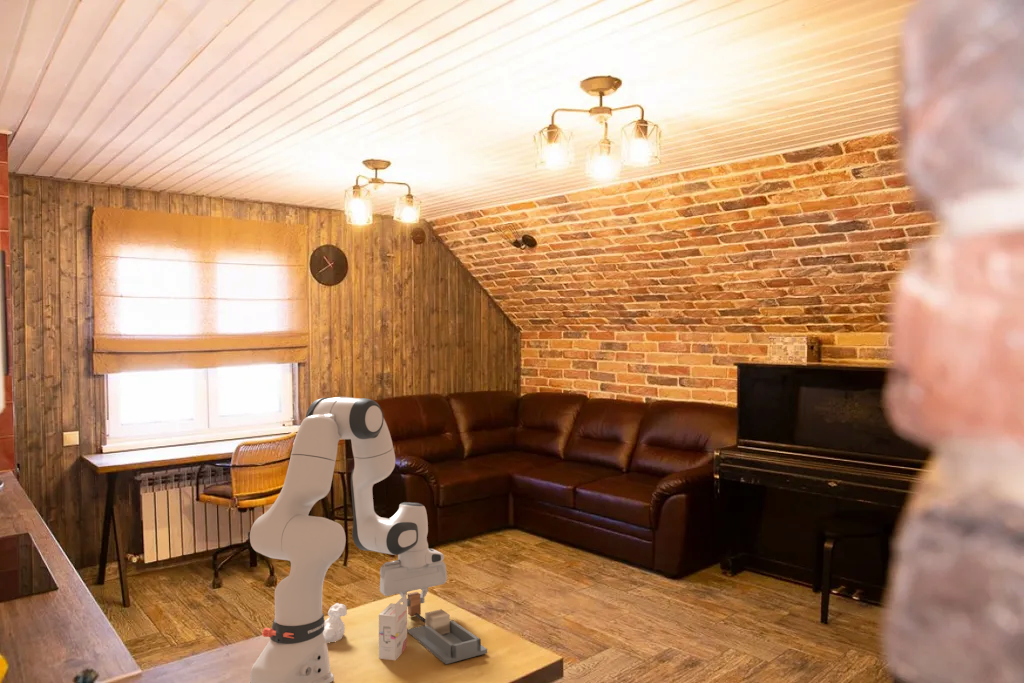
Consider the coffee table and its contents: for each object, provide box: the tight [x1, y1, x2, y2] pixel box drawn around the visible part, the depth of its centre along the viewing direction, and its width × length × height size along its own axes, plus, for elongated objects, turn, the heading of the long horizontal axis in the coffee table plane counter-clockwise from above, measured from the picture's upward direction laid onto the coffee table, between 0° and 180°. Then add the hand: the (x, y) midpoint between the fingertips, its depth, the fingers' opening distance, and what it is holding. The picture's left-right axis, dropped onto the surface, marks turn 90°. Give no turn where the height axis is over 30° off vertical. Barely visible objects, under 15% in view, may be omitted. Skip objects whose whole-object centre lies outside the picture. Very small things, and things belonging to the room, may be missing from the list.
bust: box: [323, 602, 348, 644], centre depth 203 cm, size 12×8×11 cm
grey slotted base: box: [407, 619, 488, 665], centre depth 200 cm, size 24×12×4 cm, turn 32°
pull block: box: [407, 591, 451, 635], centre depth 210 cm, size 19×5×6 cm, turn 32°
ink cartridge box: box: [378, 594, 408, 661], centre depth 193 cm, size 9×5×15 cm, turn 168°
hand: (414, 604), depth 218 cm, fingers closed on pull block, 3 cm apart
